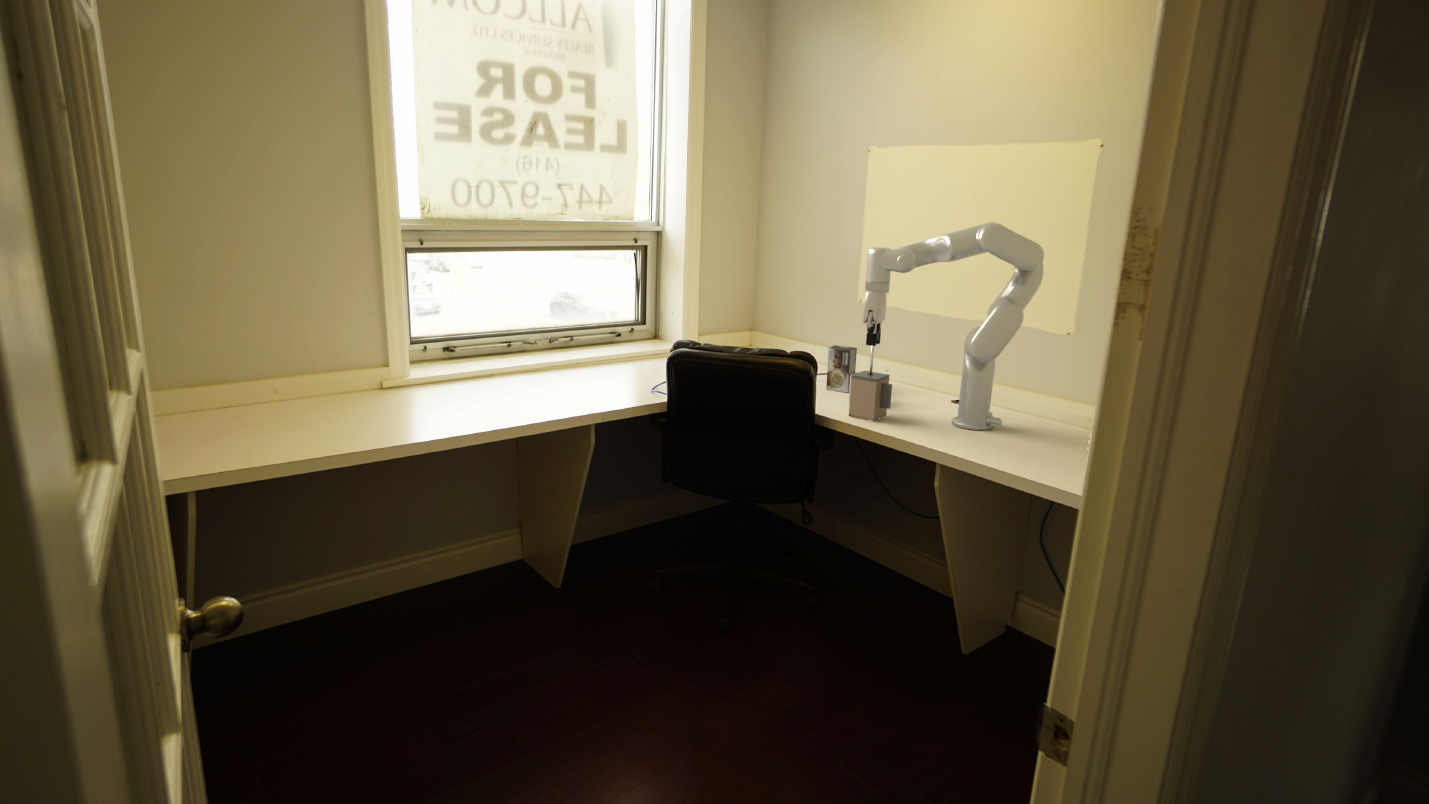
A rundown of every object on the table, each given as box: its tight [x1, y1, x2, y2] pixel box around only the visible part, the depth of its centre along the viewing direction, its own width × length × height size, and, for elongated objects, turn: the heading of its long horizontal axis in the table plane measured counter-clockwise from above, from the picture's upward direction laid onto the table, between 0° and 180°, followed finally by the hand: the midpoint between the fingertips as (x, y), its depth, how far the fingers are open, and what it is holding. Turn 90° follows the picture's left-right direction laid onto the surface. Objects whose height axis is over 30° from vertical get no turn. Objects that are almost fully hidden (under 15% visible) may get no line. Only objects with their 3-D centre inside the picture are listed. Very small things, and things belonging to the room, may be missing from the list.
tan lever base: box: [848, 370, 893, 422], centre depth 252 cm, size 12×9×14 cm
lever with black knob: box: [868, 331, 880, 376], centre depth 250 cm, size 6×6×17 cm
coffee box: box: [825, 344, 858, 394], centre depth 287 cm, size 9×6×16 cm
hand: (872, 343), depth 249 cm, fingers closed on lever with black knob, 3 cm apart
